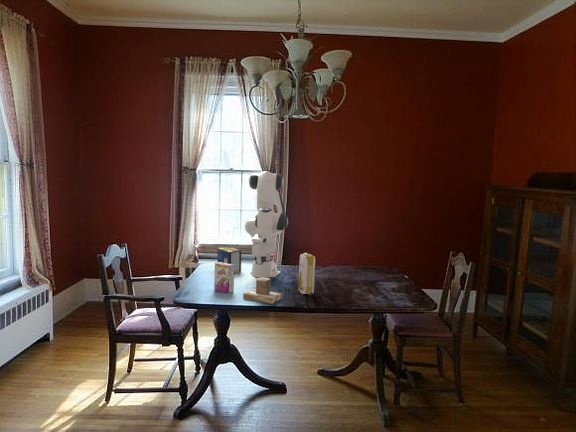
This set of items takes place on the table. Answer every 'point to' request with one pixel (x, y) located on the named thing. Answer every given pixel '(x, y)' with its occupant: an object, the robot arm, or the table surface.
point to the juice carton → (306, 273)
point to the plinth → (262, 296)
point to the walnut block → (262, 285)
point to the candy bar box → (224, 277)
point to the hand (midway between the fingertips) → (263, 262)
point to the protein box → (230, 257)
